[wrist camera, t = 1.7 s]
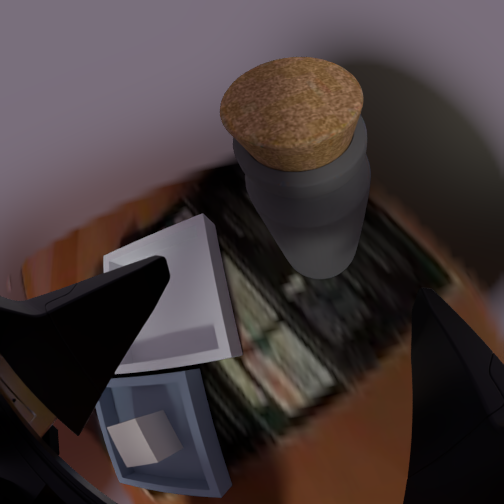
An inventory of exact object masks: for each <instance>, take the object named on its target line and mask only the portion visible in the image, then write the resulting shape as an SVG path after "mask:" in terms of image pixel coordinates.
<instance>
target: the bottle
mask: <svg viewBox="0 0 504 504" xmlns="http://www.w3.org/2000/svg"><path fill="white" fill-rule="evenodd" d="M362 106H363V92H362V89H361V87H360V84H359V83H358V82H357V80H356V79H355V77H354V76H353V75H352V74H351V73H349V72H348V71H347V70H345V69H344V68H342V67H341V66H339V65H336V64H334V63H332V62H329V61H326V60H322V59H317V58H310V57H291V58H283V59H278V60H273V61H270V62H267V63H264V64H261V65H259V66H257V67H255V68H253V69H251V70H249V71H248V72H246V73H244V74H243V75H241V76H240V77H239V78H238V79H237V80H236V81H234V82H233V83H232V85H231V86H230V87H229V89H228V90H227V91H226V93H225V94H224V96H223V99H222V101H221V106H220V117H221V120H222V123H223V125H224V127H225V128H226V130H227V131H228V132H229V133H230V134H231V135H232V136H233V149H234V153H235V156H236V159H237V161H238V163H239V165H240V167H241V168H242V170H243V172H244V173H245V182H246V189H247V192H248V194H249V197H250V199H251V201H252V203H253V205H254V206H255V208H256V210H257V212H258V213H259V215H260V217H261V218H262V220H263V221H264V223H265V225H266V226H267V228H268V230H269V231H270V233H271V234H272V236H273V238H274V239H275V241H276V243H277V244H278V246H279V247H280V249H281V250H282V252H283V254H284V255H285V257H286V258H287V260H288V262H289V263H290V264H291V265H292V267H293V268H294V269H295V270H296V271H298V272H299V273H301V274H302V275H304V276H306V277H310V278H313V279H327V278H331V277H334V276H336V275H338V274H340V273H341V272H342V271H344V270H345V269H346V268H347V267H348V266H349V264H350V263H351V261H352V260H353V257H354V255H355V252H356V249H357V245H358V242H359V237H360V233H361V229H362V225H363V220H364V216H365V211H366V206H367V201H368V196H369V190H370V182H371V170H370V164H369V161H368V158H367V155H366V149H367V130H366V126H365V122H364V120H363V118H362V116H361V114H360V113H361V109H362Z"/></svg>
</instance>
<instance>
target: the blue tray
mask: <svg viewBox="0 0 504 504" xmlns="http://www.w3.org/2000/svg"><path fill="white" fill-rule="evenodd" d="M96 410H97V414H98V418H99V422H100V426H101V429H102V433H103V436H104V440H105V443H106V446H107V449H108V452H109V455H110V458H111V461H112V464H113V466H114V469H115V472H116V474H117V477H118V480H119V482H120V483H124V484H128V485H132V486H136V487H141V488H145V489H150V490H156V491H161V492H168V493H174V494H182V495H191V496H202V497H218V498H222V497H223V495H224V494H225V493H226V492H227V491H228V490H229V488H230V487H231V486H232V482H231V479H230V476H229V473H228V470H227V467H226V464H225V461H224V458H223V455H222V451H221V448H220V445H219V441H218V438H217V434H216V431H215V427H214V424H213V420H212V416H211V413H210V409H209V405H208V401H207V397H206V393H205V389H204V385H203V381H202V376H201V372H200V368H199V369H192V370H186V371H179V372H172V373H164V374H155V375H146V376H136V377H125V378H111V380H110V382H109V383H108V385H107V387H106V388H105V390H104V392H103V394H102V396H101V397H100V399H99V401H98V403H97V404H96ZM161 410H164V412H165V414H166V416H167V418H168V420H169V422H170V424H171V426H172V428H173V429H174V431H175V433H176V435H177V437H178V439H179V440H180V442H181V444H182V446H183V448H182V449H181V450H179V451H177V452H176V453H174V454H172V455H171V456H169V457H167V458H165V459H163V460H162V461H160V462H158V463H152V464H146V465H140V466H134V467H127V466H126V465H125V463H124V461H123V459H122V457H121V455H120V453H119V452H118V450H117V448H116V446H115V444H114V442H113V440H112V438H111V435H110V433H109V431H108V429H107V427H110V426H113V425H116V424H118V423H121V422H124V421H127V420H130V419H133V418H136V417H141V416H144V415H148V414H152V413H155V412H158V411H161Z"/></svg>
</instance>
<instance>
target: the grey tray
mask: <svg viewBox="0 0 504 504" xmlns="http://www.w3.org/2000/svg"><path fill="white" fill-rule="evenodd" d="M154 255H158V256H164V257H165V258H166V260H167V264H168V268H169V272H170V280H169V283H168V284H167V286H166V288H165V290H164V292H163V294H162V296H161V298H160V299H159V301H158V303H157V305H156V307H155V309H154V311H153V312H152V314H151V315H150V317H149V319H148V320H147V322H146V323H145V325H144V326H143V328H142V329H141V331H140V333H139V334H138V336H137V337H136V339H135V341H134V342H133V344H132V345H131V347H130V349H129V350H128V352H127V353H126V355H125V357H124V358H123V360H122V362H121V363H120V365H119V366H118V368H117V370H116V371H115V374H125V373H136V372H145V371H153V370H161V369H168V368H175V367H182V366H188V365H194V364H200V363H206V362H211V361H217V360H222V359H227V358H232V357H236V356H241V355H243V353H242V349H241V344H240V340H239V336H238V331H237V327H236V323H235V318H234V314H233V309H232V305H231V300H230V296H229V291H228V286H227V282H226V277H225V272H224V268H223V263H222V258H221V253H220V248H219V243H218V238H217V233H216V228H215V224H214V223H213V222H212V221H210V220H209V219H208V218H207V217H206V216H205V215H204V214H203V213H202V214H200V215H197V216H195V217H192V218H190V219H187V220H185V221H182V222H180V223H177V224H175V225H173V226H170V227H168V228H165V229H163V230H161V231H158V232H156V233H154V234H151V235H149V236H147V237H144V238H142V239H140V240H138V241H135V242H133V243H131V244H129V245H126V246H124V247H122V248H120V249H118V250H115V251H113V252H111V253H109V254H107V255H105V256H104V273H106V272H108V271H111V270H114V269H117V268H120V267H123V266H125V265H128V264H131V263H134V262H137V261H140V260H143V259H146V258H148V257H151V256H154Z"/></svg>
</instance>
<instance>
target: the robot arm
mask: <svg viewBox="0 0 504 504" xmlns="http://www.w3.org/2000/svg"><path fill="white" fill-rule="evenodd" d="M169 280H170V272H169V268H168V264H167V260H166V258H165V257H164V256H158V255H154V256H151V257H148V258H146V259H143V260H140V261H137V262H134V263H131V264H128V265H125V266H123V267H120V268H117V269H114V270H111V271H108V272H106V273H103V274H100V275H97V276H95V277H92V278H89V279H86V280H84V281H81V282H79V283H75V284H73V285H70V286H67V287H64V288H62V289H59V290H56V291H53V292H50V293H47V294H44V295H41V296H38V297H35V298H32V299H29V300H25V301H14V300H10V299H7V298H4V297H1V296H0V504H117V503H116V502H114V501H113V500H111V499H110V498H109V497H107V496H106V495H104V494H103V493H102V492H100V491H99V490H98V489H96V488H95V487H94V486H93V485H91V484H90V483H89V482H88V481H86V480H85V479H84V478H83V477H82V476H80V475H79V474H78V473H77V472H76V471H75V470H73V469H72V468H71V467H70V466H69V465H68V464H67V463H66V462H65V461H64V460H63V459H62V458H60V457H59V456H58V455H59V443H58V442H59V441H58V430H57V429H56V428H55V427H54V426H53V423H54V422H55V421H56V420H57V418H58V419H59V420H60V421H61V422H62V423H63V424H65V425H66V426H67V427H68V428H69V429H70V430H71V431H73V432H74V433H75V434H76V435H77V436H79V435H80V433H81V432H82V430H83V428H84V426H85V424H86V422H87V421H88V419H89V417H90V415H91V413H92V412H93V410H94V408H95V406H96V404H97V403H98V401H99V399H100V397H101V396H102V394H103V392H104V390H105V388H106V387H107V385H108V383H109V382H110V380H111V378H112V376H113V375H114V373H115V371H116V370H117V368H118V366H119V365H120V363H121V362H122V360H123V358H124V357H125V355H126V353H127V352H128V350H129V349H130V347H131V345H132V344H133V342H134V341H135V339H136V337H137V336H138V334H139V333H140V331H141V329H142V328H143V326H144V325H145V323H146V322H147V320H148V319H149V317H150V315H151V314H152V312H153V311H154V309H155V307H156V305H157V303H158V301H159V299H160V298H161V296H162V294H163V292H164V290H165V288H166V286H167V284H168V283H169ZM492 353H493V352H492V350H491V349H490V348H489V347H488V346H487V345H486V344H485V343H484V341H483V340H482V339H481V338H480V337H479V336H478V335H477V334H476V333H475V332H474V331H473V329H472V328H471V327H470V326H469V325H468V324H467V323H466V322H465V321H464V320H463V319H462V318H461V317H460V316H459V315H458V314H457V313H456V312H455V311H454V310H453V309H452V308H451V307H450V306H449V305H448V304H447V303H446V302H445V301H444V300H443V299H442V298H441V297H440V296H439V295H438V294H437V293H436V292H435V291H434V290H432V289H430V288H420V289H419V291H418V294H417V297H416V300H415V303H414V306H413V309H412V341H411V364H412V388H413V416H412V439H411V452H410V462H409V471H408V479H407V484H406V490H405V496H404V501H403V504H504V364H503V363H502V362H501V361H500V360H499V359H498V357H497V356H496V355H495V354H494V353H493V354H492Z"/></svg>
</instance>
